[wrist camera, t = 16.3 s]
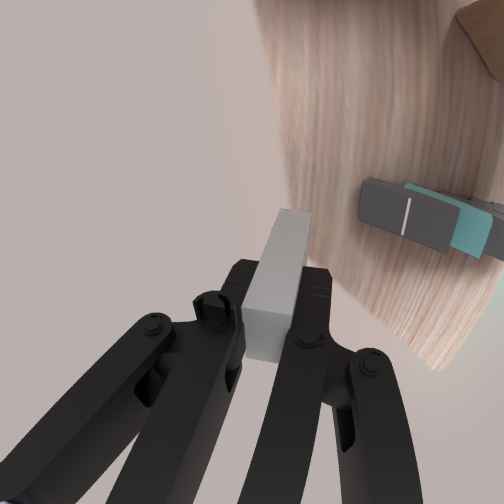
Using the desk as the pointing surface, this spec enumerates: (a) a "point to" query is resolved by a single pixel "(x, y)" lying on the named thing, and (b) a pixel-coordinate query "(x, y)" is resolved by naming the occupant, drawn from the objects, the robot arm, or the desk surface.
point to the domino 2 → (464, 223)
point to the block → (486, 32)
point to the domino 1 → (408, 214)
